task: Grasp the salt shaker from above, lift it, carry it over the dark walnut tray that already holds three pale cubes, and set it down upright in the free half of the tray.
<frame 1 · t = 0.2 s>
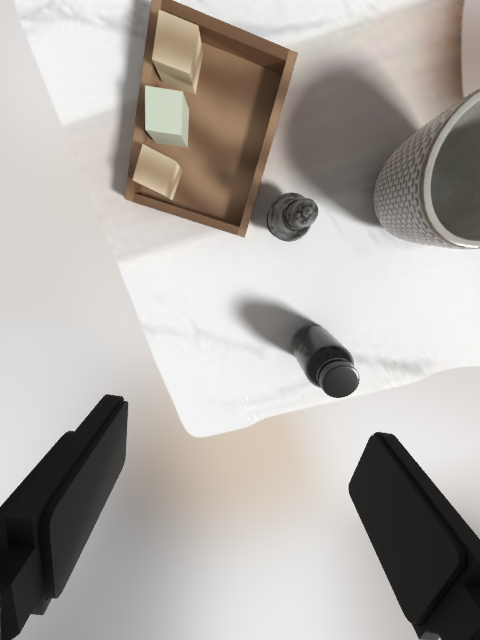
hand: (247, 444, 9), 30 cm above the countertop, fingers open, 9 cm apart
cube c: (163, 178, 32), point 1 cm above the countertop, touching tray
cube b: (172, 126, 30), point 1 cm above the countertop, touching tray
planter: (402, 194, 34), on the countertop
supplement bottle: (310, 342, 41), on the countertop
tray: (207, 141, 31), on the countertop
cube a: (182, 68, 29), point 1 cm above the countertop, touching tray
salt shaker: (284, 219, 35), on the countertop
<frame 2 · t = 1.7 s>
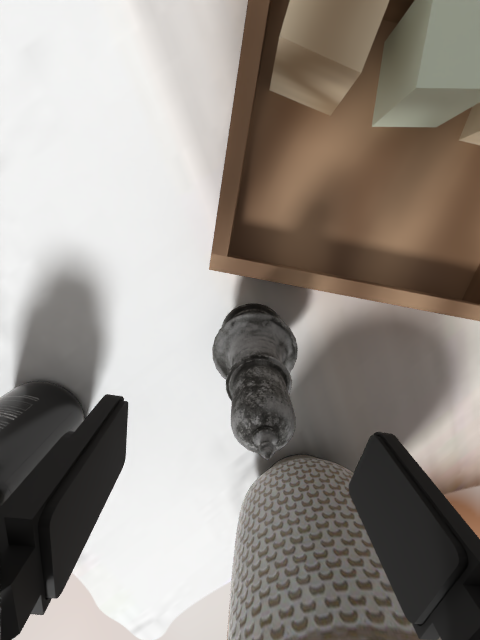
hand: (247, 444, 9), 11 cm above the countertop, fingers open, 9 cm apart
cube c: (313, 62, 14), point 1 cm above the countertop, touching tray
cube b: (411, 86, 14), point 1 cm above the countertop, touching tray
planter: (298, 477, 25), on the countertop
supplement bottle: (52, 408, 23), on the countertop
tray: (378, 174, 16), on the countertop
salt shaker: (252, 333, 20), on the countertop
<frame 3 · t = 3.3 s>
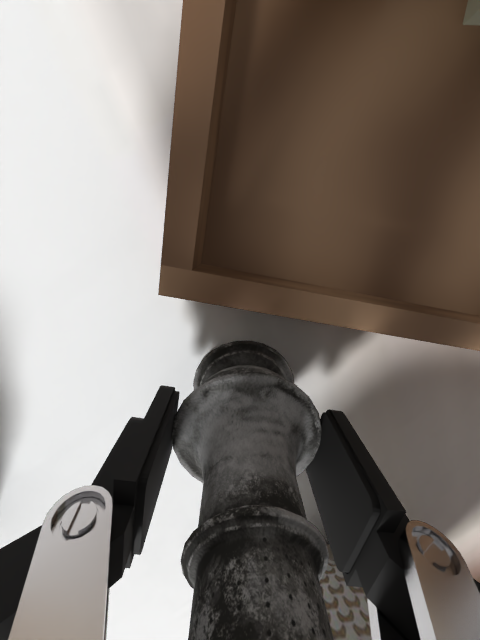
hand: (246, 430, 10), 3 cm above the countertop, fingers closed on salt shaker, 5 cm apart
planter: (309, 568, 18), on the countertop
tray: (460, 123, 9), on the countertop
salt shaker: (243, 384, 13), on the countertop, touching gripper
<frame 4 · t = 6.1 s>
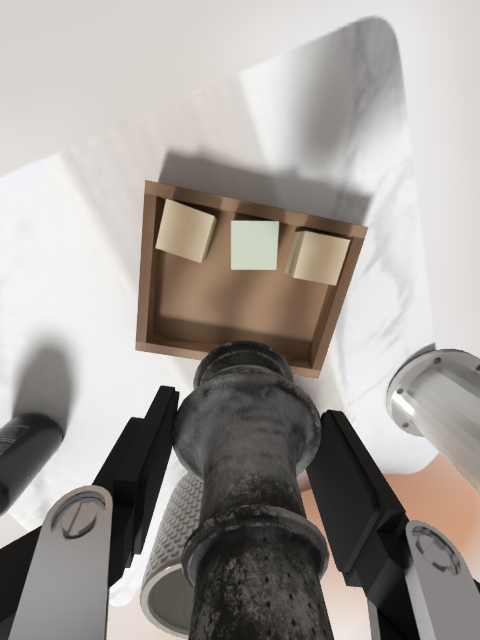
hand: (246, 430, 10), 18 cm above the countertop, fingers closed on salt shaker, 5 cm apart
cube c: (192, 233, 24), point 1 cm above the countertop, touching tray
cube b: (251, 245, 24), point 1 cm above the countertop, touching tray
planter: (220, 475, 35), on the countertop
supplement bottle: (39, 431, 32), on the countertop
tray: (242, 287, 26), on the countertop
cube a: (307, 256, 25), point 1 cm above the countertop, touching tray
salt shaker: (243, 384, 13), point 15 cm above the countertop, touching gripper
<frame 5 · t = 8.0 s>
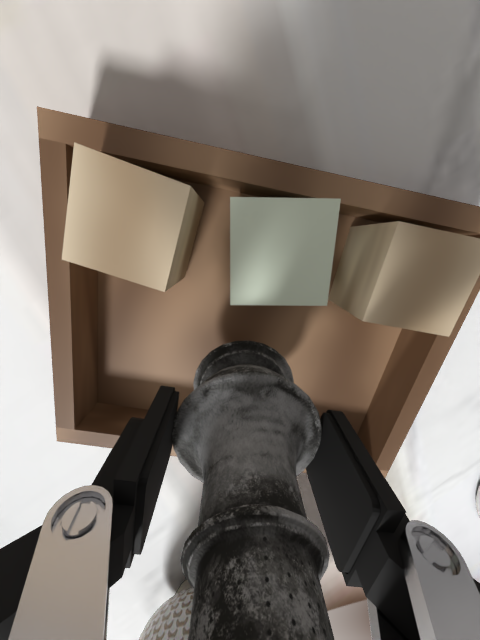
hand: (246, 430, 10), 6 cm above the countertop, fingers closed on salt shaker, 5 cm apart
cube c: (157, 229, 13), point 1 cm above the countertop, touching tray
cube b: (268, 250, 13), point 1 cm above the countertop, touching tray
planter: (214, 588, 24), on the countertop
tray: (251, 324, 15), on the countertop
cube a: (372, 271, 14), point 1 cm above the countertop, touching tray
salt shaker: (243, 383, 13), point 3 cm above the countertop, touching gripper
when the fingers open (5 cm above the countertop, at t = 9.2 s): salt shaker drops 1 cm, resting on tray.
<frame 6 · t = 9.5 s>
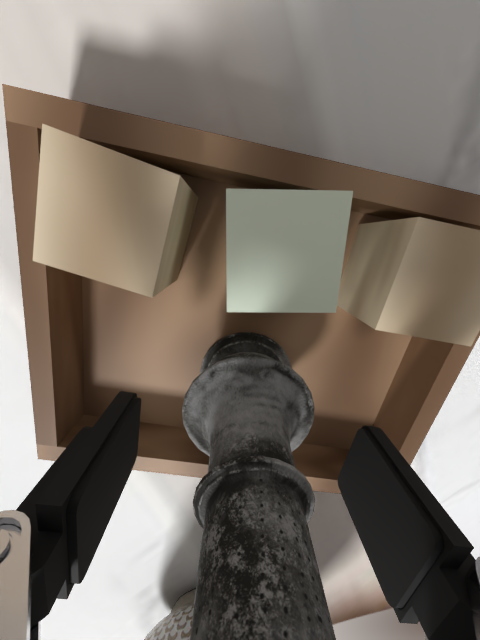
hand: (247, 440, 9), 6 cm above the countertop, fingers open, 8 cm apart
cube c: (146, 226, 11), point 1 cm above the countertop, touching tray
cube b: (269, 250, 12), point 1 cm above the countertop, touching tray
planter: (212, 604, 23), on the countertop
tray: (250, 329, 14), on the countertop
cube a: (382, 272, 12), point 1 cm above the countertop, touching tray
salt shaker: (245, 372, 14), resting on tray
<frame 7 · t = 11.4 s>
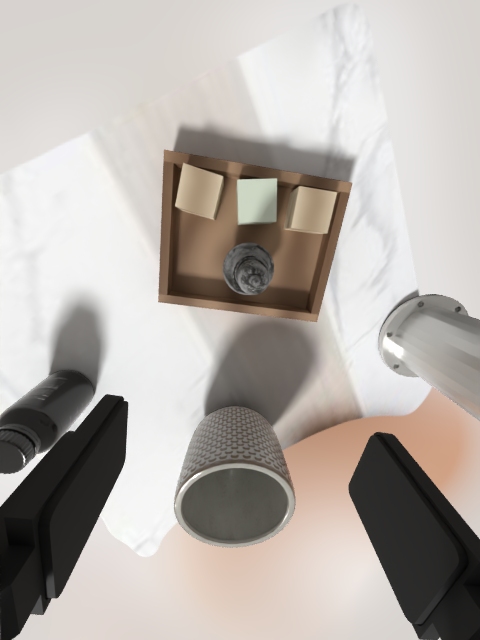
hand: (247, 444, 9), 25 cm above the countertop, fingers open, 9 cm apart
cube c: (203, 197, 28), point 1 cm above the countertop, touching tray
cube b: (253, 206, 29), point 1 cm above the countertop, touching tray
planter: (233, 423, 40), on the countertop
supplement bottle: (73, 387, 36), on the countertop
tray: (247, 245, 30), on the countertop
cube a: (302, 214, 29), point 1 cm above the countertop, touching tray
salt shaker: (246, 266, 31), resting on tray
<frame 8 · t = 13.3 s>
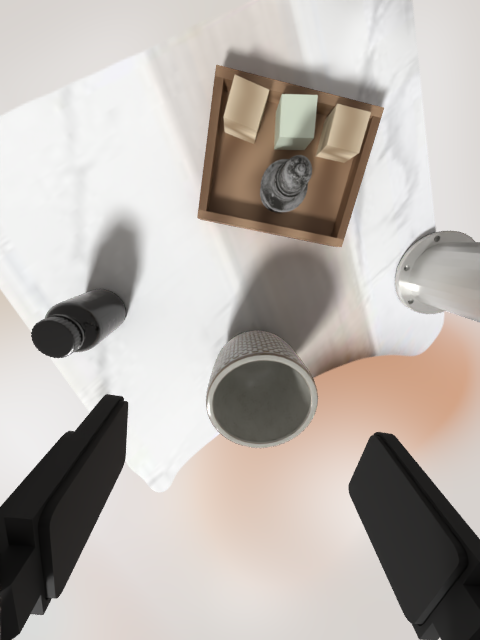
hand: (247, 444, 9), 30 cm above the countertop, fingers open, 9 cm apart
cube c: (244, 120, 30), point 1 cm above the countertop, touching tray
cube b: (290, 131, 31), point 1 cm above the countertop, touching tray
planter: (253, 355, 42), on the countertop
supplement bottle: (106, 309, 39), on the countertop
tray: (281, 172, 33), on the countertop
cube a: (334, 142, 31), point 1 cm above the countertop, touching tray
salt shaker: (278, 192, 33), resting on tray
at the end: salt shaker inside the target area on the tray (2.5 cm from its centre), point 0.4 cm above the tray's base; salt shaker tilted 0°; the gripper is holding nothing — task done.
